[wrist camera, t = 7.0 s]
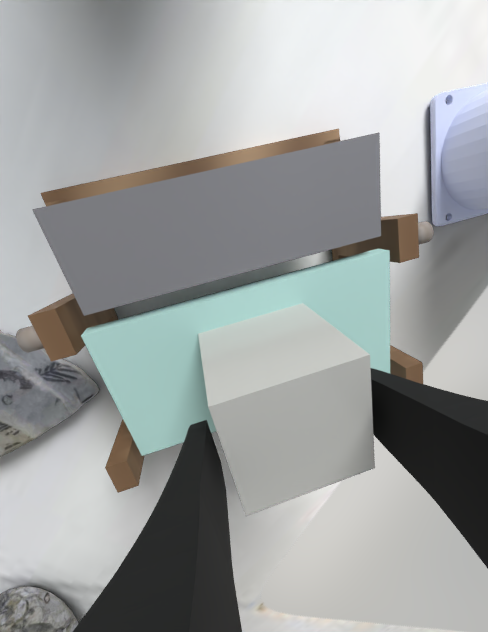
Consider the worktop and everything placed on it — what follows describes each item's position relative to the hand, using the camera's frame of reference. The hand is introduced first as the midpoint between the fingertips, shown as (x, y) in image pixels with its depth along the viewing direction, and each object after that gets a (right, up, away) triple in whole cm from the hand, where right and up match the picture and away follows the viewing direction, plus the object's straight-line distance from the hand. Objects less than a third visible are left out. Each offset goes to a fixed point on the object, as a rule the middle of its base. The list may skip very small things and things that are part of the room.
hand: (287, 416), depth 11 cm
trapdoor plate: (-2, +5, +5) cm, 7 cm away
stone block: (-1, +1, +3) cm, 3 cm away
